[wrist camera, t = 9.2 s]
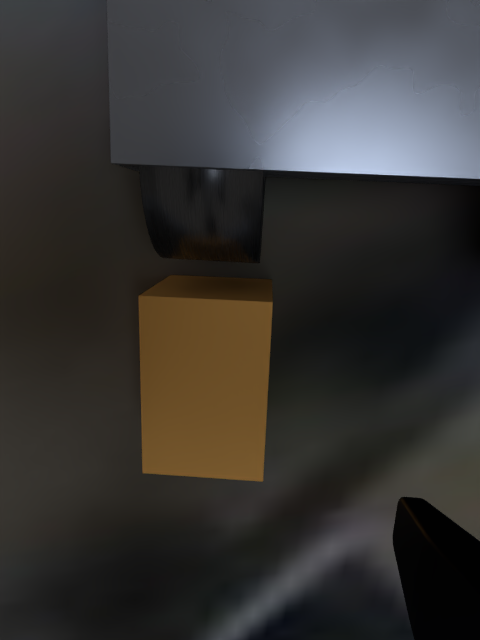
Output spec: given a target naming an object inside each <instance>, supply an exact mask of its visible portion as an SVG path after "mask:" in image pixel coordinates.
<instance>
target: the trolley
mask: <svg viewBox="0 0 480 640" xmlns="http://www.w3.org/2000/svg"><path fill="white" fill-rule="evenodd" d="M107 29H108V68H109V107H110V146H111V163H112V164H116V165H119V166H122V167H125V168H129V169H132V170H135V171H140V184H141V194H142V201H143V208H144V214H145V219H146V224H147V228H148V232H149V235H150V238H151V241H152V244H153V246H154V248H155V250H156V252H157V253H158V255H159V256H160V257H162V258H173V259H192V260H210V261H229V262H248V263H260V254H261V241H262V226H263V211H264V195H265V178H266V177H287V178H311V179H334V180H357V181H380V182H403V183H426V184H449V185H472V186H480V0H107Z"/></svg>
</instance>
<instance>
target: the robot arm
mask: <svg viewBox="0 0 480 640" xmlns="http://www.w3.org/2000/svg"><path fill="white" fill-rule="evenodd" d="M393 547H394V552H395V556H396V561H397V565H398V570H399V575H400V579H401V584H402V588H403V593H404V597H405V602H406V606H407V611H408V615H409V620H410V624H411V628H412V632H413V636H414V639H415V640H480V541H479V540H477V539H476V538H475V537H473V536H472V535H471V534H469V533H468V532H467V531H465V530H464V529H463V528H461V527H460V526H459V525H457V524H456V523H455V522H453V521H452V520H451V519H449V518H448V517H447V516H446V515H444V514H443V513H442V512H440V511H439V510H438V509H436V508H435V507H434V506H432V505H431V504H430V503H428V502H427V501H425V500H424V499H422V498H412V497H402V498H400V499H399V501H398V505H397V511H396V517H395V524H394V530H393Z"/></svg>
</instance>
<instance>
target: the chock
mask: <svg viewBox="0 0 480 640" xmlns="http://www.w3.org/2000/svg"><path fill="white" fill-rule="evenodd" d="M272 307H273V295H272V279H253V278H230V277H208V276H185V275H170V276H168V277H167V278H165V279H164V280H162V281H161V282H159V283H158V284H156V285H154V286H153V287H151V288H150V289H148V290H147V291H145V292H144V293H142V294H141V295H139V336H140V380H141V424H142V469H143V473H148V474H162V475H177V476H191V477H205V478H219V479H234V480H248V481H262V482H263V471H264V453H265V435H266V417H267V398H268V380H269V362H270V344H271V326H272Z"/></svg>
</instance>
